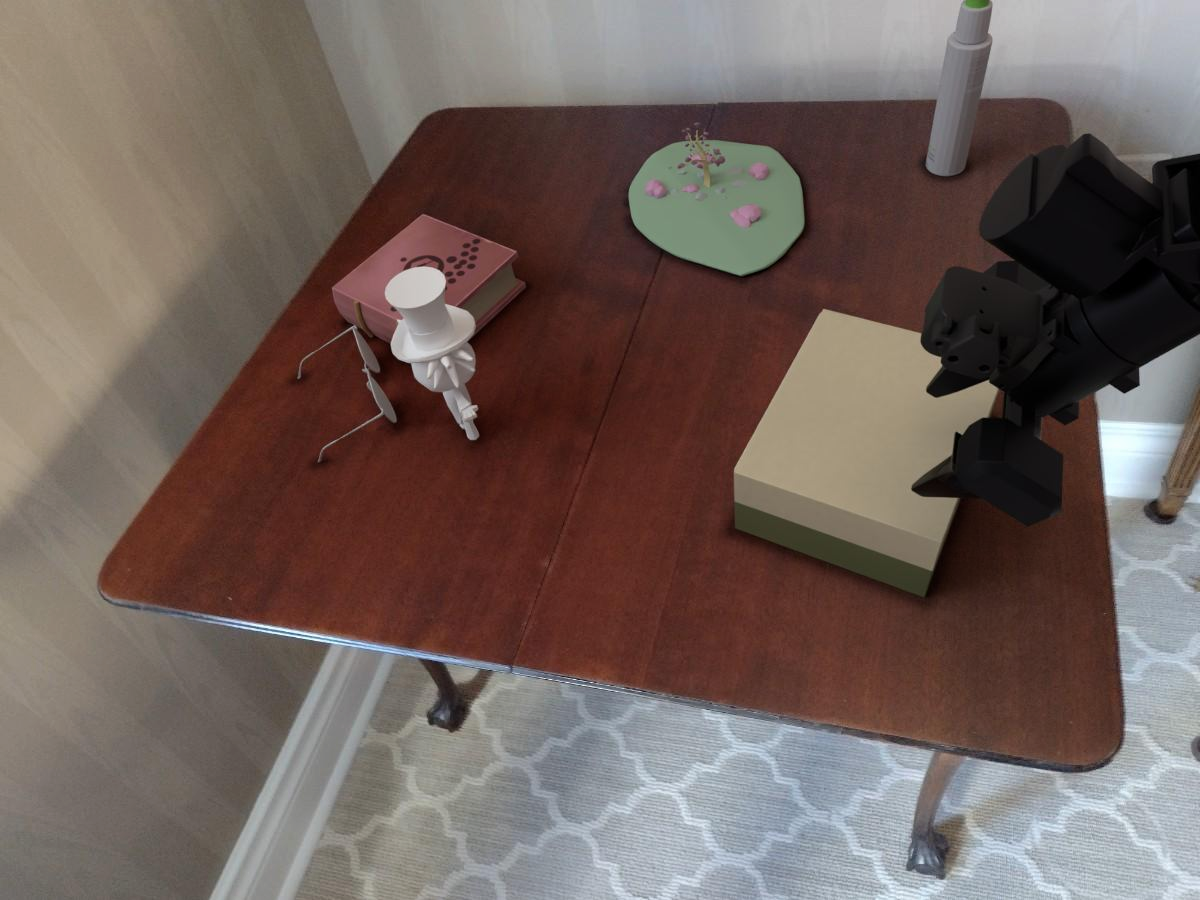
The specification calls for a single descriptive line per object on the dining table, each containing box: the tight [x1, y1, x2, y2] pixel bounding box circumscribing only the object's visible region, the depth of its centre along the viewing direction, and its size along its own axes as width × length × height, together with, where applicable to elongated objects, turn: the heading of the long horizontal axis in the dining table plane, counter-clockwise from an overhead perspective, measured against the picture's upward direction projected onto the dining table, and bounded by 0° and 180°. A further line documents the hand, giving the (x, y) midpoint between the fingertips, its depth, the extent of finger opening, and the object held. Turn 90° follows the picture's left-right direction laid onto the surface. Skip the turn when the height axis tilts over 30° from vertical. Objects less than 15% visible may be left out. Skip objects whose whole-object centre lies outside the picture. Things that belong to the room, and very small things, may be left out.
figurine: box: [385, 267, 480, 441], centre depth 80 cm, size 10×8×18 cm
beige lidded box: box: [733, 308, 1001, 598], centre depth 74 cm, size 16×20×8 cm
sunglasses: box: [297, 325, 398, 463], centre depth 90 cm, size 14×8×5 cm, turn 22°
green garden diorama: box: [628, 121, 805, 277], centre depth 100 cm, size 25×21×9 cm
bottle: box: [925, 0, 994, 177], centre depth 95 cm, size 4×4×20 cm
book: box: [331, 213, 527, 344], centre depth 97 cm, size 14×15×5 cm
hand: (923, 440), depth 63 cm, fingers open, 9 cm apart
